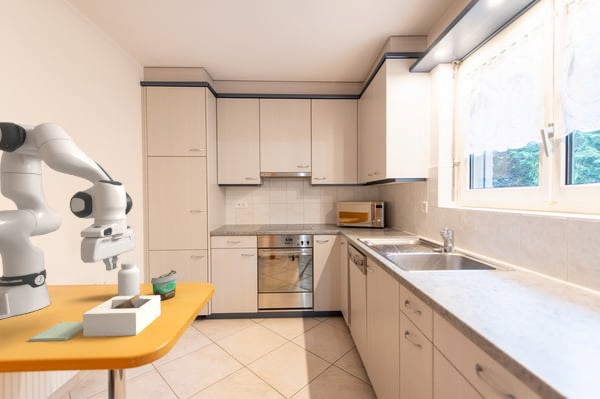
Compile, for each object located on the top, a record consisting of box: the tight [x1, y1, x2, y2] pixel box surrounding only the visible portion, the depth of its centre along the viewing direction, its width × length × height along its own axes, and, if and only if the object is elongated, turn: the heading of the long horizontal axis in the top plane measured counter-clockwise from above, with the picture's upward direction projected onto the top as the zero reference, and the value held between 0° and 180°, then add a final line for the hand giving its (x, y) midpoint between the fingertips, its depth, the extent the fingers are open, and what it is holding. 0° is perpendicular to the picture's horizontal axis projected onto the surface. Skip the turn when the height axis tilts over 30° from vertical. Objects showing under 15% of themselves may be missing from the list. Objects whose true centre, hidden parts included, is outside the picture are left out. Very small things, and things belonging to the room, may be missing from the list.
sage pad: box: [28, 321, 83, 342], centre depth 81 cm, size 11×10×1 cm
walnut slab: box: [112, 295, 140, 309], centre depth 85 cm, size 11×4×3 cm, turn 91°
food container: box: [150, 270, 179, 302], centre depth 108 cm, size 12×6×10 cm, turn 168°
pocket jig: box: [82, 294, 162, 337], centre depth 85 cm, size 16×14×7 cm
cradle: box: [133, 298, 145, 308], centre depth 85 cm, size 12×5×2 cm, turn 91°
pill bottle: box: [117, 260, 141, 296], centre depth 110 cm, size 8×8×15 cm
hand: (111, 269), depth 85 cm, fingers closed
